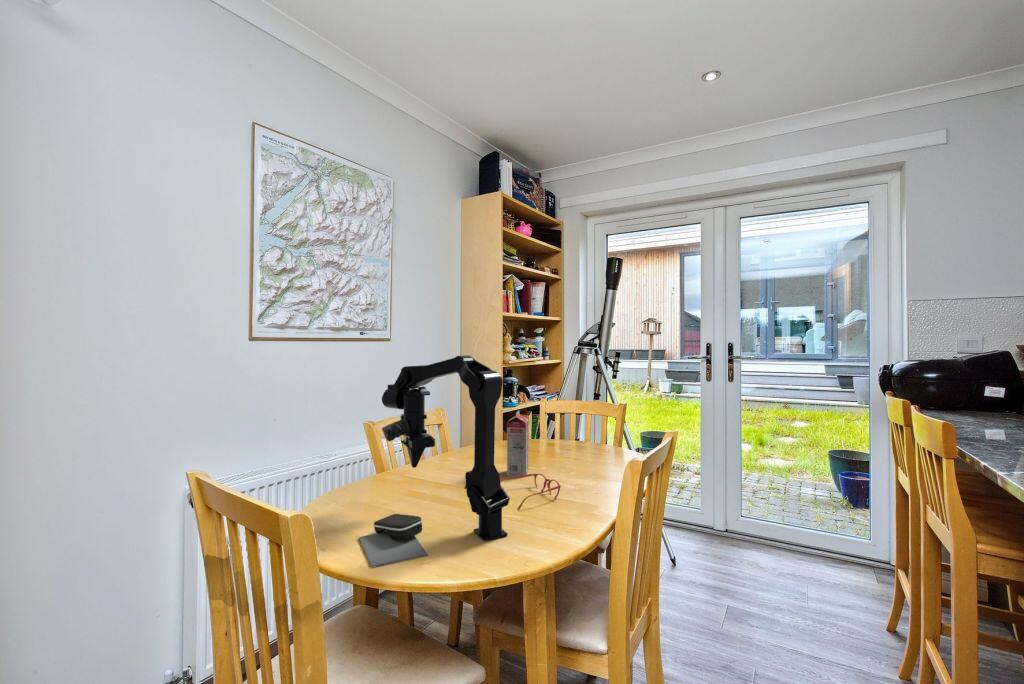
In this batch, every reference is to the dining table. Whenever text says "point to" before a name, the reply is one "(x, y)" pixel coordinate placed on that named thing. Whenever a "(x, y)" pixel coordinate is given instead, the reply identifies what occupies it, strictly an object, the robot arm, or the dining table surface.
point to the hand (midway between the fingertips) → (414, 467)
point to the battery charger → (399, 526)
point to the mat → (390, 549)
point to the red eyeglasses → (536, 485)
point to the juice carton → (517, 445)
